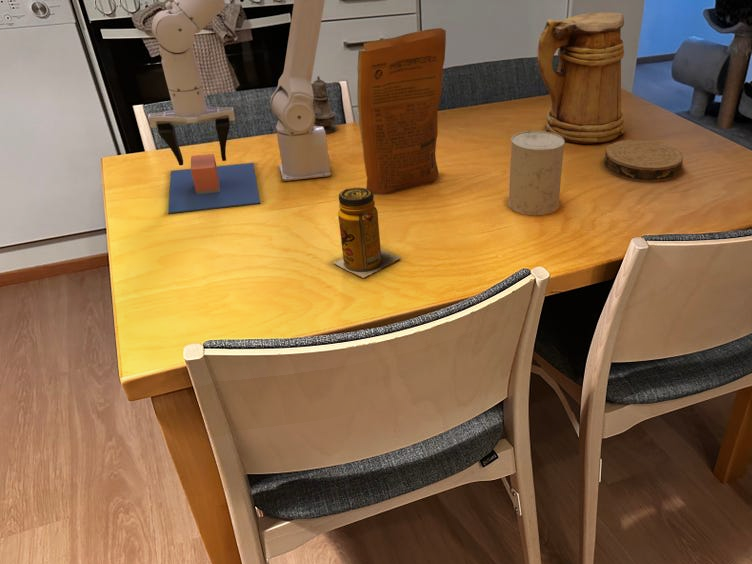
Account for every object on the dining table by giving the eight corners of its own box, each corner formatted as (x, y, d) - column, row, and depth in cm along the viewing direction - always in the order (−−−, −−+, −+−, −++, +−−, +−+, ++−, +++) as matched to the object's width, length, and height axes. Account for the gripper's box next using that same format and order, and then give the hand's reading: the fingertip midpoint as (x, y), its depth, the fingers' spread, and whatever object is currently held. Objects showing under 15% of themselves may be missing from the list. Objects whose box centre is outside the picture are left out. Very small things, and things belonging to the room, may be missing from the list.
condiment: (332, 263, 112) (323, 193, 105) (371, 245, 117) (365, 177, 110) (363, 279, 108) (356, 207, 101) (402, 259, 113) (398, 190, 106)
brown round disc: (648, 188, 138) (651, 174, 136) (588, 164, 147) (590, 150, 145) (695, 169, 146) (698, 155, 145) (636, 147, 156) (638, 134, 154)
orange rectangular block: (219, 178, 137) (213, 153, 134) (220, 192, 132) (214, 167, 129) (196, 180, 136) (190, 155, 133) (196, 194, 131) (190, 169, 128)
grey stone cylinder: (564, 198, 134) (570, 134, 126) (551, 218, 126) (557, 152, 119) (516, 190, 136) (519, 128, 128) (501, 210, 129) (504, 145, 121)
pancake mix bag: (456, 180, 139) (456, 29, 122) (371, 202, 130) (358, 42, 113) (438, 169, 144) (435, 22, 127) (354, 189, 135) (340, 34, 118)
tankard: (639, 136, 162) (658, 19, 147) (558, 154, 152) (569, 30, 137) (590, 114, 174) (603, 3, 159) (512, 129, 164) (517, 13, 149)
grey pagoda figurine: (331, 135, 159) (325, 80, 151) (307, 132, 159) (300, 78, 152) (341, 126, 163) (335, 73, 156) (317, 124, 164) (310, 71, 157)
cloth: (253, 164, 144) (253, 162, 144) (260, 203, 129) (259, 202, 129) (171, 172, 140) (171, 170, 140) (168, 214, 125) (168, 212, 125)
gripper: (139, 96, 118) (161, 173, 126) (228, 90, 122) (243, 164, 130) (142, 85, 123) (162, 159, 132) (227, 78, 127) (241, 151, 135)
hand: (202, 161), depth 131 cm, fingers open, 7 cm apart
